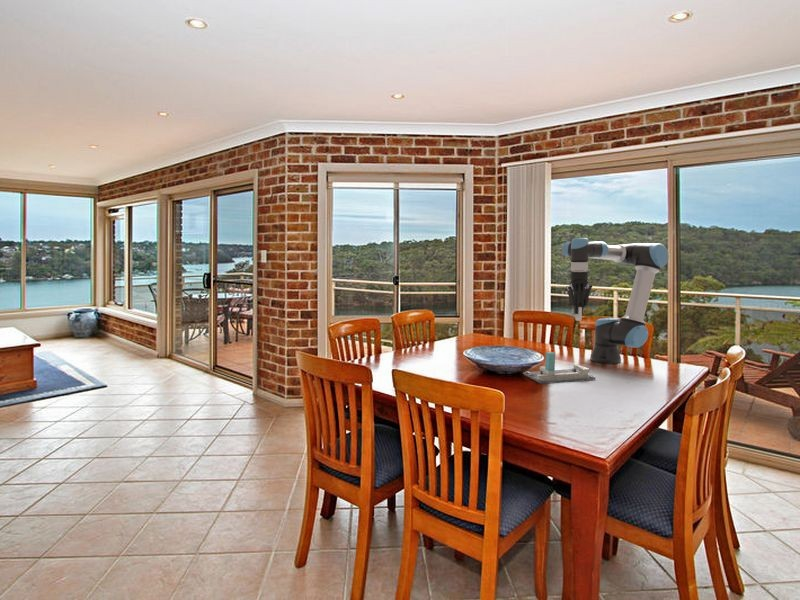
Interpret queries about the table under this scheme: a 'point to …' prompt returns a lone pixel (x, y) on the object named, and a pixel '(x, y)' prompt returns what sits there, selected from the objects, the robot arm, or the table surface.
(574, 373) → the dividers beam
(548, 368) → the sliding leg
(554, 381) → the bolt plate
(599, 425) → the table surface
